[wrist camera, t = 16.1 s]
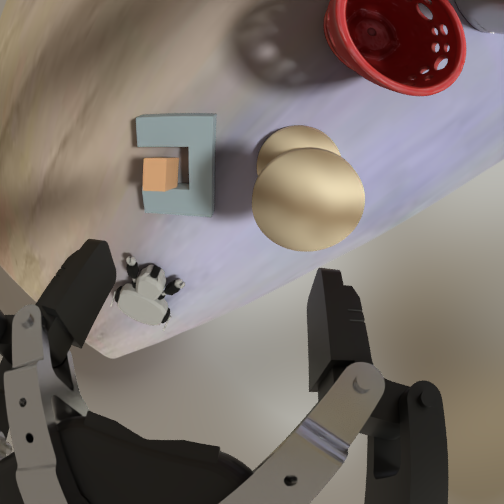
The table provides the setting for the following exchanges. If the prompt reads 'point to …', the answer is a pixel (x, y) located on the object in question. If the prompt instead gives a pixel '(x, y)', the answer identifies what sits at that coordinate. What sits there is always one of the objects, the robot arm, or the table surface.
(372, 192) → the table surface
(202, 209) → the notched board
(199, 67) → the table surface
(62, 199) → the table surface
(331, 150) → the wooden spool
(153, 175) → the block
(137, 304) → the robot toy
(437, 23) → the plant pot
